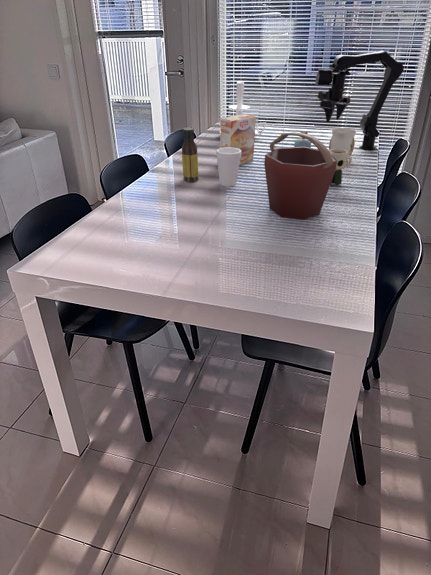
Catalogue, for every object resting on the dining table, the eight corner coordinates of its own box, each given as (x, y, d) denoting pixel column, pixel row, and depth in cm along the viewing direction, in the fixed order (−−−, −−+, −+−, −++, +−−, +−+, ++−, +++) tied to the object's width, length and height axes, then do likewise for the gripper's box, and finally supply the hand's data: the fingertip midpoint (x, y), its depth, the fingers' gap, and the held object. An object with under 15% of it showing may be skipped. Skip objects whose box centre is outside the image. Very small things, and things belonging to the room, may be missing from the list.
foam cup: (243, 182, 172) (245, 149, 165) (234, 189, 165) (235, 155, 158) (221, 178, 176) (222, 146, 168) (212, 185, 168) (212, 152, 161)
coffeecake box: (229, 167, 188) (231, 120, 177) (219, 164, 192) (219, 117, 182) (254, 161, 196) (256, 116, 186) (243, 157, 201) (245, 113, 190)
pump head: (302, 137, 209) (303, 130, 207) (308, 139, 207) (309, 131, 205) (298, 139, 207) (299, 131, 205) (304, 140, 205) (305, 133, 203)
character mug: (318, 185, 170) (323, 152, 163) (320, 179, 175) (324, 147, 168) (346, 188, 167) (352, 154, 160) (347, 182, 173) (353, 149, 166)
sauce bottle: (198, 177, 177) (197, 126, 166) (198, 182, 171) (197, 130, 161) (182, 177, 176) (181, 126, 166) (182, 182, 171) (180, 130, 160)
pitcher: (353, 155, 205) (358, 125, 198) (349, 166, 191) (355, 134, 183) (330, 153, 208) (334, 123, 201) (324, 163, 194) (329, 132, 186)
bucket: (251, 201, 155) (255, 129, 141) (303, 193, 162) (312, 124, 149) (286, 228, 136) (295, 148, 122) (344, 217, 143) (358, 140, 130)
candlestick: (261, 144, 221) (265, 84, 206) (215, 141, 226) (215, 82, 211) (267, 135, 238) (271, 79, 223) (224, 132, 243) (225, 77, 228)
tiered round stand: (298, 146, 218) (299, 135, 215) (320, 151, 211) (322, 139, 208) (283, 151, 210) (284, 139, 207) (305, 157, 203) (307, 144, 200)
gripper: (332, 82, 211) (327, 115, 219) (312, 85, 199) (307, 121, 208) (353, 84, 205) (347, 119, 213) (333, 88, 193) (328, 124, 202)
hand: (332, 120), depth 209 cm, fingers open, 9 cm apart
